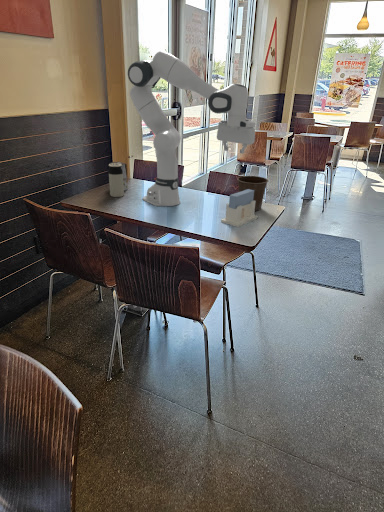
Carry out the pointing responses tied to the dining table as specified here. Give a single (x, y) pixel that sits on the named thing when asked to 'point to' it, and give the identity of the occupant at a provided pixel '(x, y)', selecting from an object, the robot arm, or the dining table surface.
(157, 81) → the robot arm
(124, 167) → the coffee box
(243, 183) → the plant pot
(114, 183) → the travel mug
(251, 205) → the display stand
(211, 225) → the dining table surface
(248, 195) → the blue-grey block
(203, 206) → the dining table surface
